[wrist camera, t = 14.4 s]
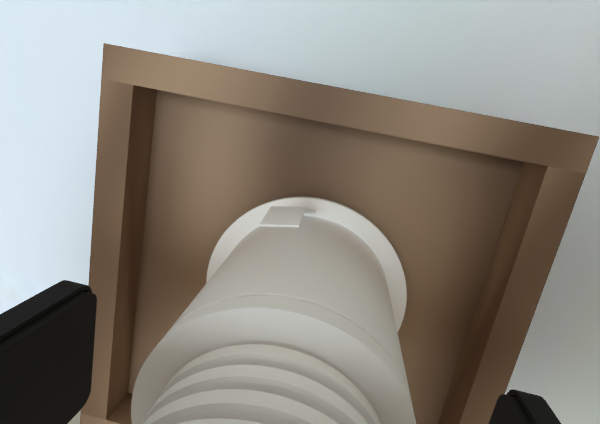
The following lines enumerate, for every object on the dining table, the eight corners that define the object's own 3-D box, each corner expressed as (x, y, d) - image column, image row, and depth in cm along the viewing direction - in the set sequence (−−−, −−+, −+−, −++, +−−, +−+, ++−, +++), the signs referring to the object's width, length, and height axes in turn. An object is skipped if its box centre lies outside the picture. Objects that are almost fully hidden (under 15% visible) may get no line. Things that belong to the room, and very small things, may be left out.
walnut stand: (515, 131, 16) (599, 136, 10) (423, 420, 19) (451, 536, 14) (181, 68, 17) (103, 43, 11) (150, 352, 20) (79, 435, 15)
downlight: (202, 178, 14) (-153, 360, 4) (412, 181, 13) (601, 422, 3) (217, 376, 16) (10, 806, 6) (398, 390, 15) (484, 914, 5)
